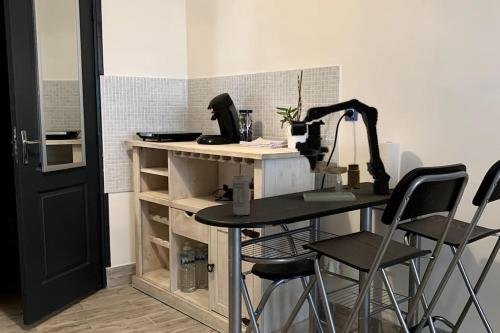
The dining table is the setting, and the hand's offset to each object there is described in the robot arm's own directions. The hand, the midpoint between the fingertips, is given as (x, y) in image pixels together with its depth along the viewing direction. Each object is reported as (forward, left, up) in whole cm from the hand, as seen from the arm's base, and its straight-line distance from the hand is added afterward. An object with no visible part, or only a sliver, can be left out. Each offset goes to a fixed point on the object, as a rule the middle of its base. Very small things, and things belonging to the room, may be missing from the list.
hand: (315, 170), depth 225 cm
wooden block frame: (-5, +3, -1) cm, 6 cm away
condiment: (-20, -26, -12) cm, 35 cm away
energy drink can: (+30, +43, -12) cm, 53 cm away
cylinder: (-11, -6, -12) cm, 18 cm away
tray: (-5, +8, -12) cm, 15 cm away
